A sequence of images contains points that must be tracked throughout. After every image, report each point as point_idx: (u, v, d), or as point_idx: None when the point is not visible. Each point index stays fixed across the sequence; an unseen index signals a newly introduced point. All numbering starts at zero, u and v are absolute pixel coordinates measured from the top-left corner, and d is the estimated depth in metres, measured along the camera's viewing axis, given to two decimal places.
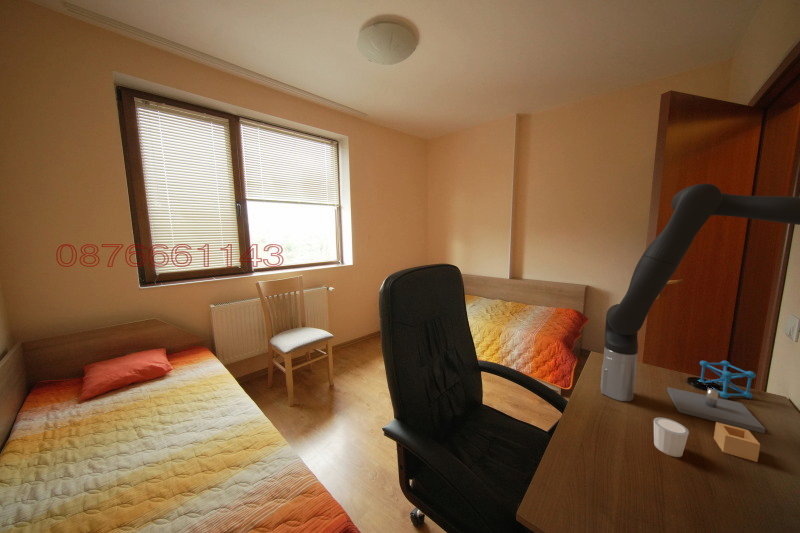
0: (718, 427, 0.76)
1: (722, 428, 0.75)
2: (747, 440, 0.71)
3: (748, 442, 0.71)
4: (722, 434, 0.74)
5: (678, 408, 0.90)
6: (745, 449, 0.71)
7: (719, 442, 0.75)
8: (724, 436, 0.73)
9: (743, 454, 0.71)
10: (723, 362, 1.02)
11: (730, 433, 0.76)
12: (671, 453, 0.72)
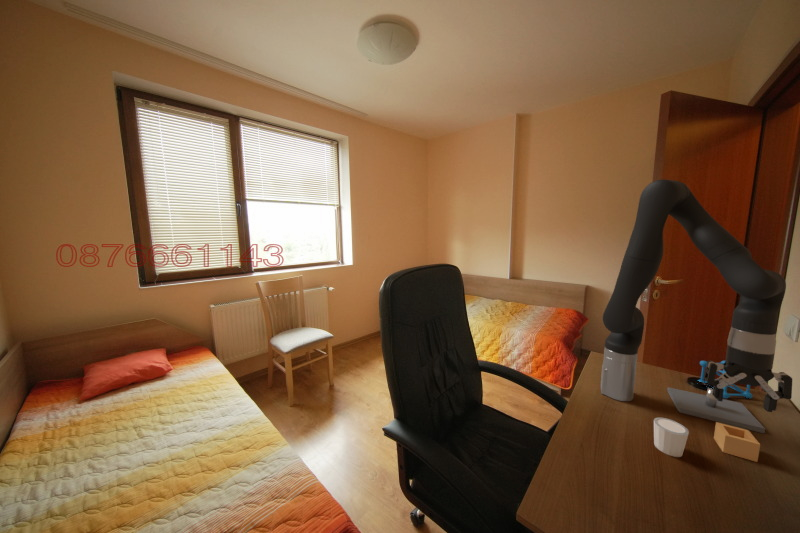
0: (718, 427, 0.76)
1: (722, 428, 0.75)
2: (747, 440, 0.71)
3: (748, 442, 0.71)
4: (722, 434, 0.74)
5: (678, 408, 0.90)
6: (745, 449, 0.71)
7: (719, 442, 0.75)
8: (724, 436, 0.73)
9: (743, 454, 0.71)
10: (723, 362, 1.02)
11: (730, 433, 0.76)
12: (671, 453, 0.72)
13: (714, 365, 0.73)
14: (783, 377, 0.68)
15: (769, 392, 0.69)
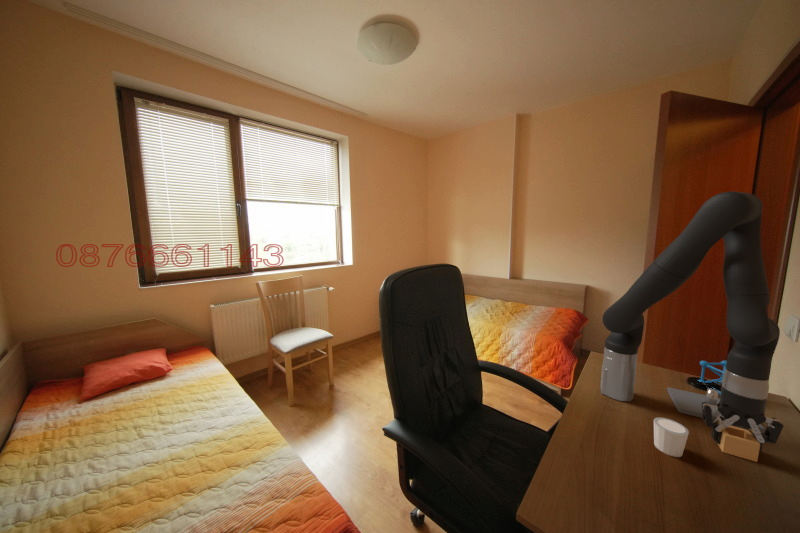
0: None
1: None
2: (747, 440, 0.71)
3: (748, 442, 0.71)
4: (722, 434, 0.74)
5: (678, 408, 0.90)
6: (745, 449, 0.71)
7: None
8: (724, 436, 0.73)
9: (743, 454, 0.71)
10: (723, 362, 1.02)
11: (730, 433, 0.76)
12: (671, 453, 0.72)
13: (708, 407, 0.75)
14: (774, 423, 0.69)
15: (756, 435, 0.71)
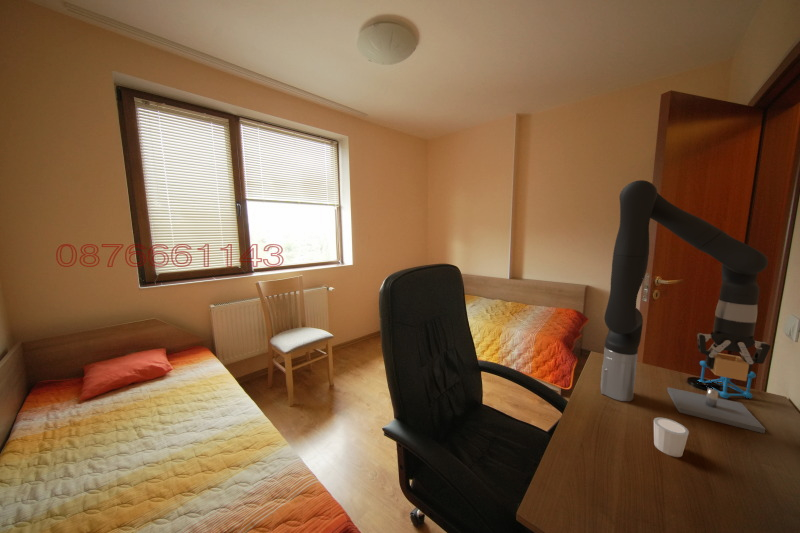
0: None
1: None
2: (737, 362, 0.78)
3: (738, 363, 0.78)
4: (715, 359, 0.81)
5: (678, 408, 0.90)
6: (735, 370, 0.78)
7: None
8: (716, 360, 0.80)
9: (733, 375, 0.79)
10: None
11: None
12: (671, 453, 0.72)
13: (702, 336, 0.82)
14: (762, 345, 0.76)
15: (746, 357, 0.78)
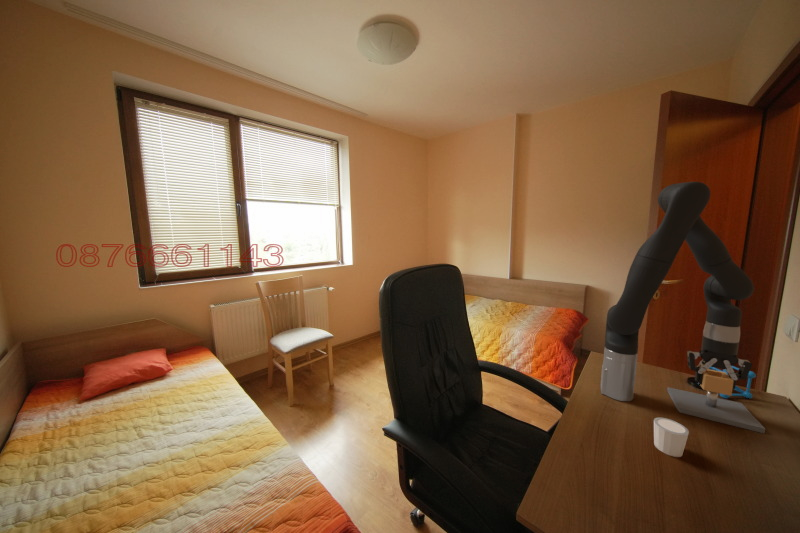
0: None
1: None
2: (723, 378, 0.86)
3: (724, 379, 0.86)
4: (703, 375, 0.89)
5: (678, 408, 0.90)
6: (721, 386, 0.86)
7: None
8: (704, 376, 0.88)
9: (720, 390, 0.86)
10: None
11: (710, 376, 0.91)
12: (671, 453, 0.72)
13: (691, 354, 0.90)
14: (745, 363, 0.84)
15: (731, 374, 0.86)
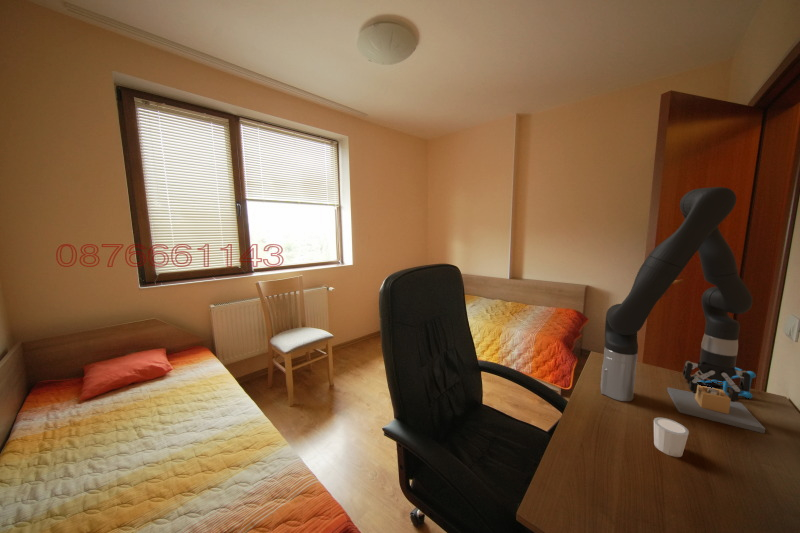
0: (698, 388, 0.92)
1: (701, 388, 0.91)
2: (720, 396, 0.87)
3: (721, 398, 0.86)
4: (701, 393, 0.90)
5: (678, 408, 0.90)
6: (719, 404, 0.87)
7: (698, 400, 0.91)
8: (702, 394, 0.89)
9: (717, 408, 0.87)
10: None
11: None
12: (671, 453, 0.72)
13: (690, 364, 0.91)
14: (743, 374, 0.85)
15: (732, 386, 0.86)
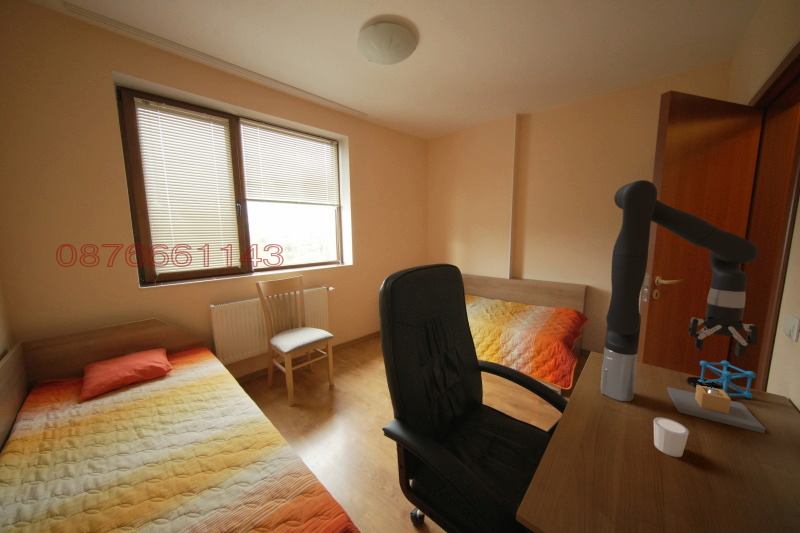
0: (698, 388, 0.92)
1: (701, 388, 0.91)
2: (720, 396, 0.87)
3: (721, 398, 0.86)
4: (701, 393, 0.90)
5: (678, 408, 0.90)
6: (719, 404, 0.87)
7: (698, 400, 0.91)
8: (702, 394, 0.89)
9: (717, 408, 0.87)
10: (723, 362, 1.02)
11: None
12: (671, 453, 0.72)
13: (696, 320, 0.89)
14: (751, 327, 0.83)
15: (739, 340, 0.84)
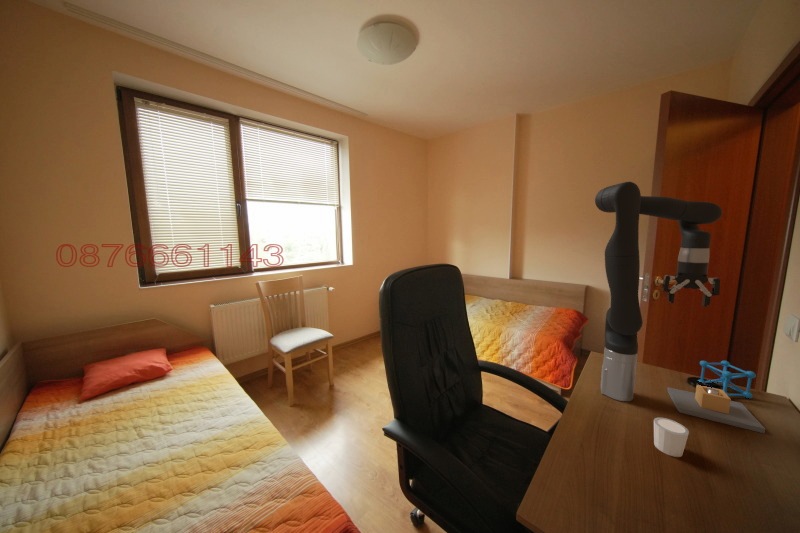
0: (698, 388, 0.92)
1: (701, 388, 0.91)
2: (720, 396, 0.87)
3: (721, 398, 0.86)
4: (701, 393, 0.90)
5: (678, 408, 0.90)
6: (719, 404, 0.87)
7: (698, 400, 0.91)
8: (702, 394, 0.89)
9: (717, 408, 0.87)
10: (723, 362, 1.02)
11: None
12: (671, 453, 0.72)
13: (668, 276, 1.01)
14: (714, 280, 0.95)
15: (705, 291, 0.96)
